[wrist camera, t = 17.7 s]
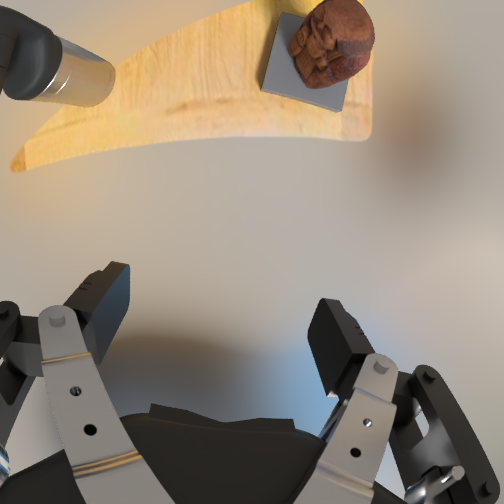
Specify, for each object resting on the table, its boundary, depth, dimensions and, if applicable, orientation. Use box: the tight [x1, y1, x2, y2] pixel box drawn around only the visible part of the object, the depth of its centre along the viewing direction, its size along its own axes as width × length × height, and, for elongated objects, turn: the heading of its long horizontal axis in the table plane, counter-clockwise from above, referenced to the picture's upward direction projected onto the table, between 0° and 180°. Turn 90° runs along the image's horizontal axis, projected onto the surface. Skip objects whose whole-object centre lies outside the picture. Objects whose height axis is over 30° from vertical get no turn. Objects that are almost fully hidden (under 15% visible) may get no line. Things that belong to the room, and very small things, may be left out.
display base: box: [261, 12, 349, 112], centre depth 36 cm, size 13×15×2 cm
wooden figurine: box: [288, 0, 375, 89], centre depth 27 cm, size 12×6×18 cm, turn 18°
